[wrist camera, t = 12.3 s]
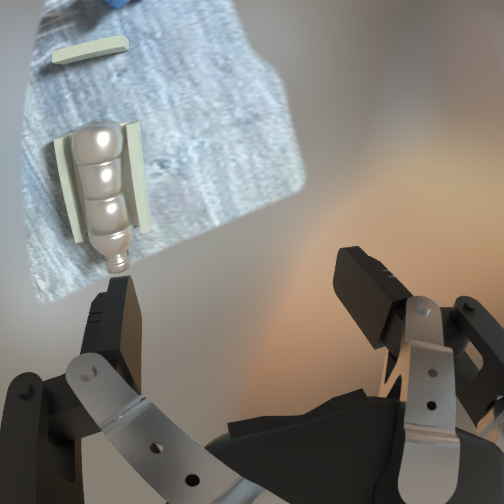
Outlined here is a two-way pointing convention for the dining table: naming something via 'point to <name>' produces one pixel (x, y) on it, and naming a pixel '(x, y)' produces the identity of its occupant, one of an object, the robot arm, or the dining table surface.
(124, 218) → the silver metal bottle
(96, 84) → the dining table surface
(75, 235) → the cradle
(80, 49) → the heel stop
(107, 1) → the grapes
